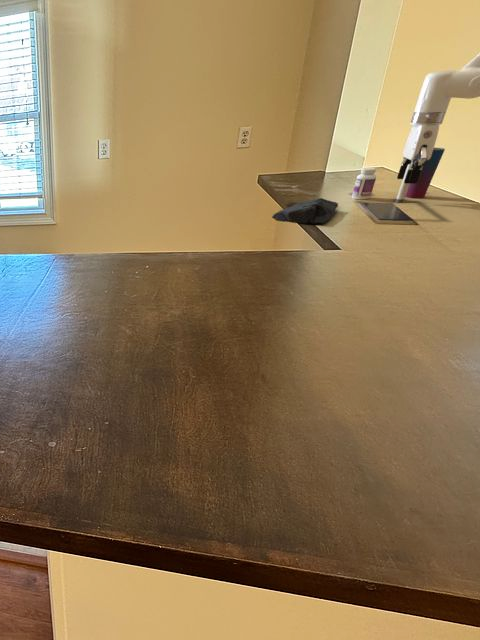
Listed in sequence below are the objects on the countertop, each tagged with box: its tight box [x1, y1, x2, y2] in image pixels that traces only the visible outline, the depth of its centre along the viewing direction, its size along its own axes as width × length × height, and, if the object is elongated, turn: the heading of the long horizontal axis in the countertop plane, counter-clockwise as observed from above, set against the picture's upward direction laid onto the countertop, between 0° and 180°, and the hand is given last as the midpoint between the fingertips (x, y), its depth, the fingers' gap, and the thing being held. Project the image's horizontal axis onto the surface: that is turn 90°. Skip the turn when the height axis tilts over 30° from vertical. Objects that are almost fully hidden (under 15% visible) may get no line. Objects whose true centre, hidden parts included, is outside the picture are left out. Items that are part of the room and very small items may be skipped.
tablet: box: [357, 201, 420, 226], centre depth 145 cm, size 16×24×1 cm, turn 158°
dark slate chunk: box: [271, 197, 339, 225], centre depth 149 cm, size 15×22×5 cm
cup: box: [405, 147, 445, 199], centre depth 158 cm, size 7×7×15 cm
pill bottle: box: [351, 167, 377, 200], centre depth 163 cm, size 5×5×10 cm
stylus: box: [394, 164, 411, 204], centre depth 153 cm, size 2×2×12 cm
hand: (406, 180), depth 152 cm, fingers open, 6 cm apart
